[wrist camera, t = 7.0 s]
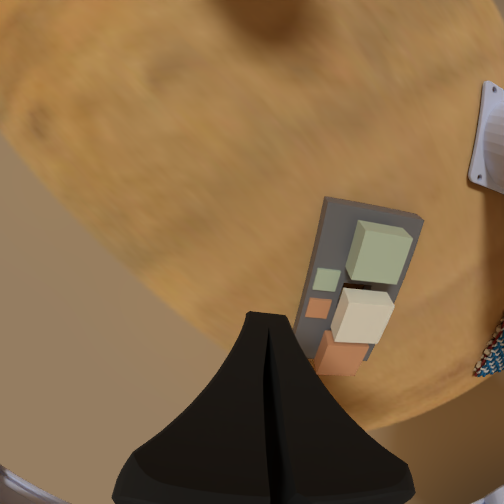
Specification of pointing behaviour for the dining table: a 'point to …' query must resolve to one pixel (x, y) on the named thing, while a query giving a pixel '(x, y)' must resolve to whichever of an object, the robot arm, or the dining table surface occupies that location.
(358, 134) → the dining table surface
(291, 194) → the dining table surface
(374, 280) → the key sage
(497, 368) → the woven mat
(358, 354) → the key rust
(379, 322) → the cream cube block
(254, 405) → the robot arm
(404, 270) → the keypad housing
